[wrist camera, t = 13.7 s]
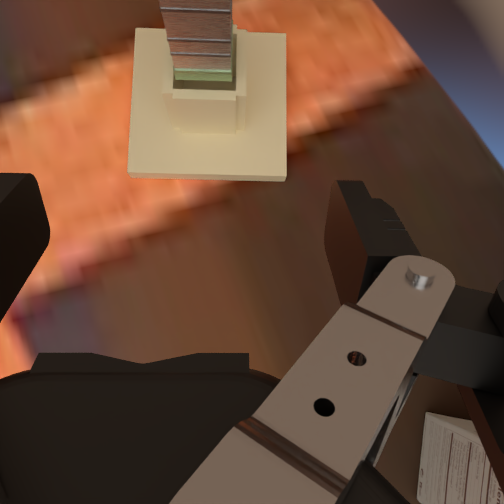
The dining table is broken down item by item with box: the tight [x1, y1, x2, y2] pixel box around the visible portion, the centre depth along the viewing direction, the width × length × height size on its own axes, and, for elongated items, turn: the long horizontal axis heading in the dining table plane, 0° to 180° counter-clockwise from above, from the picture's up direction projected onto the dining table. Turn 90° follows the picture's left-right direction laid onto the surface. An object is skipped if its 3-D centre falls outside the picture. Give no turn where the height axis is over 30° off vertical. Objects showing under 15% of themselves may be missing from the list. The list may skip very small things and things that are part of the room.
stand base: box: [127, 25, 287, 182], centre depth 37 cm, size 14×14×8 cm
